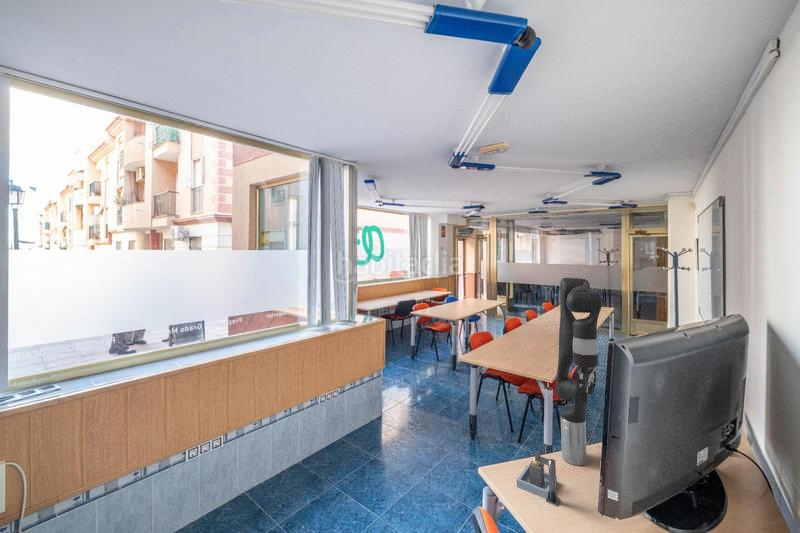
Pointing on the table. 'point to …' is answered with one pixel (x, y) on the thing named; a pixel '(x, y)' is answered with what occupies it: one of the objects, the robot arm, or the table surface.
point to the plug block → (536, 473)
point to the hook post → (552, 477)
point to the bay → (524, 483)
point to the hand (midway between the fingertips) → (586, 398)
